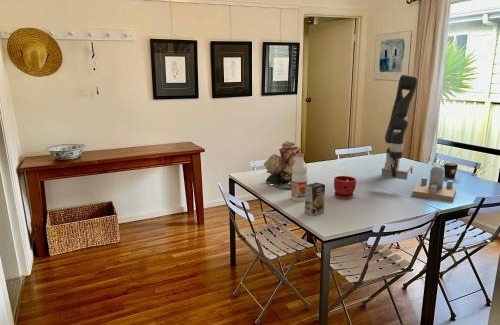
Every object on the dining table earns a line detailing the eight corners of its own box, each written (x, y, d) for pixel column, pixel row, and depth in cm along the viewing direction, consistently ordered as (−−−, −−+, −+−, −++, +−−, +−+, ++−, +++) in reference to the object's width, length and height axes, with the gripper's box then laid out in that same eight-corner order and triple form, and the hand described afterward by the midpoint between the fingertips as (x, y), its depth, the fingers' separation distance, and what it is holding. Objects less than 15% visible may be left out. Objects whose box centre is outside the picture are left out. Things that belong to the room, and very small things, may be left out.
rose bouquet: (259, 185, 250) (259, 142, 243) (285, 176, 271) (285, 136, 264) (290, 193, 234) (290, 147, 226) (314, 182, 254) (316, 140, 247)
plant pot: (351, 201, 216) (352, 182, 213) (330, 198, 223) (331, 179, 220) (358, 195, 227) (359, 176, 224) (337, 192, 234) (338, 174, 231)
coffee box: (313, 216, 195) (313, 187, 191) (304, 213, 200) (305, 184, 196) (324, 212, 200) (325, 184, 196) (316, 209, 205) (316, 181, 201)
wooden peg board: (412, 195, 225) (414, 169, 221) (417, 186, 242) (420, 162, 238) (452, 201, 213) (455, 174, 209) (455, 191, 230) (458, 166, 226)
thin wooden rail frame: (381, 176, 239) (381, 168, 237) (387, 169, 253) (388, 162, 251) (407, 179, 230) (407, 172, 229) (412, 173, 244) (413, 166, 243)
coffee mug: (455, 176, 264) (457, 162, 261) (456, 179, 256) (458, 165, 254) (437, 174, 269) (439, 161, 266) (438, 177, 261) (439, 164, 259)
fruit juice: (294, 195, 228) (295, 152, 222) (309, 198, 224) (310, 153, 217) (288, 200, 220) (289, 155, 214) (303, 202, 216) (304, 156, 209)
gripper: (392, 147, 238) (390, 173, 242) (387, 151, 227) (385, 178, 231) (405, 148, 234) (402, 174, 238) (400, 153, 223) (397, 180, 227)
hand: (394, 176), depth 235 cm, fingers closed on thin wooden rail frame, 1 cm apart
